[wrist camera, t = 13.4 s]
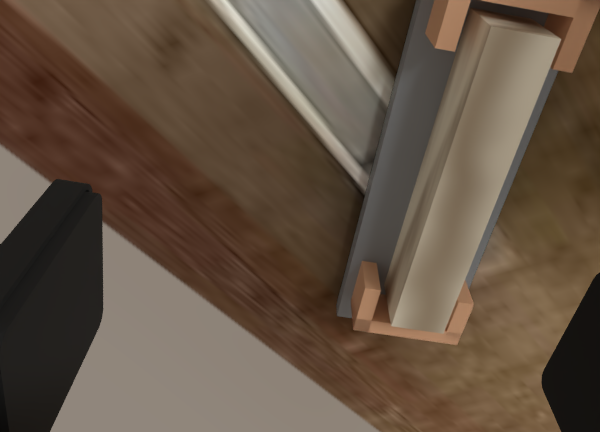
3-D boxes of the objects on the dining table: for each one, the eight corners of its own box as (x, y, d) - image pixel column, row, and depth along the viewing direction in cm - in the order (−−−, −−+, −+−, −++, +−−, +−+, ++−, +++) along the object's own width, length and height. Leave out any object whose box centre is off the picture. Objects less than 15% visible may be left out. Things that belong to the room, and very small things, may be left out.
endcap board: (593, -45, 35) (631, -33, 31) (447, 320, 51) (459, 362, 46) (435, -75, 35) (452, -68, 30) (336, 304, 50) (338, 345, 46)
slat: (531, 18, 36) (561, 39, 32) (431, 291, 47) (443, 333, 43) (470, 7, 36) (491, 26, 31) (384, 284, 47) (391, 326, 43)
